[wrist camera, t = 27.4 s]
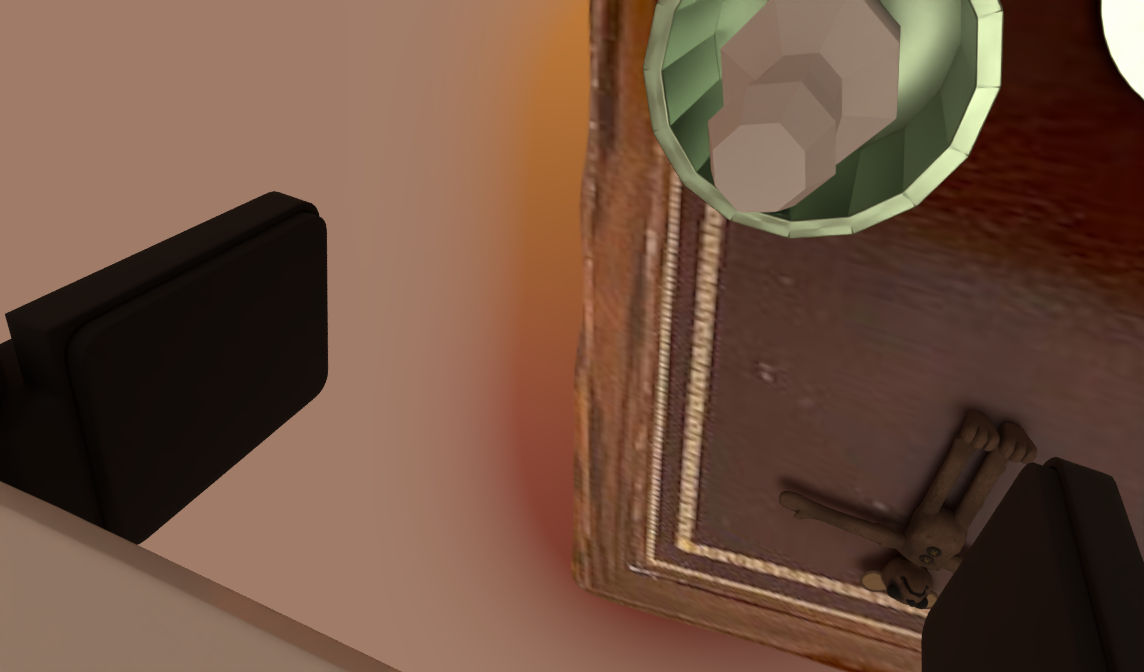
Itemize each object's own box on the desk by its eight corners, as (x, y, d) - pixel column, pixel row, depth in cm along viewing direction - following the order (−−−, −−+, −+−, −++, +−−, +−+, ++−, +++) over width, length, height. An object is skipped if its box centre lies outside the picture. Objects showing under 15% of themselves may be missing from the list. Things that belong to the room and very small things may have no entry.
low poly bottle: (745, 2, 37) (593, 99, 20) (879, -66, 34) (846, -23, 16) (791, 124, 39) (692, 315, 21) (923, 71, 36) (935, 244, 18)
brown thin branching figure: (1192, 509, 38) (1048, 698, 45) (1164, 464, 42) (1035, 645, 49) (834, 382, 42) (750, 574, 49) (837, 351, 46) (759, 533, 53)
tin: (742, -141, 35) (688, -153, 27) (1034, -84, 32) (1077, -76, 24) (676, 128, 42) (617, 187, 33) (912, 194, 39) (912, 277, 31)
